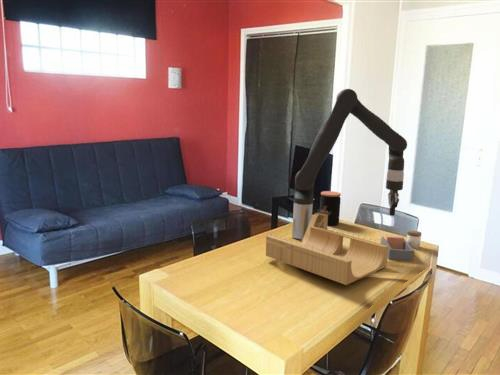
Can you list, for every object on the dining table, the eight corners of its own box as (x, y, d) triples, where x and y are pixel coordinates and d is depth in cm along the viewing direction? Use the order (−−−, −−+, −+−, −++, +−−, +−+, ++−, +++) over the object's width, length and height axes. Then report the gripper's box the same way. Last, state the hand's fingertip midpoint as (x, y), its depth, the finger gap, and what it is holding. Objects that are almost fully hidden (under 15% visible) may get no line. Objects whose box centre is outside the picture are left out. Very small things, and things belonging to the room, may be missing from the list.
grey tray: (388, 259, 185) (389, 249, 184) (380, 245, 204) (381, 236, 203) (413, 260, 184) (414, 251, 183) (402, 246, 202) (403, 237, 202)
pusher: (386, 248, 197) (387, 237, 196) (385, 246, 200) (386, 235, 199) (402, 249, 196) (403, 238, 195) (401, 247, 199) (402, 236, 198)
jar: (407, 248, 201) (409, 233, 199) (404, 244, 207) (405, 230, 205) (421, 249, 200) (423, 234, 199) (417, 245, 206) (419, 230, 205)
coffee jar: (315, 223, 239) (317, 191, 236) (331, 222, 244) (333, 190, 240) (326, 228, 230) (328, 195, 226) (342, 226, 234) (345, 194, 231)
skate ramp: (265, 257, 183) (266, 221, 180) (316, 241, 207) (318, 209, 204) (345, 287, 155) (348, 244, 152) (393, 265, 179) (397, 227, 176)
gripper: (384, 176, 210) (381, 211, 213) (389, 181, 197) (386, 218, 200) (399, 177, 209) (396, 212, 212) (406, 181, 196) (403, 219, 199)
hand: (391, 215), depth 206 cm, fingers closed
